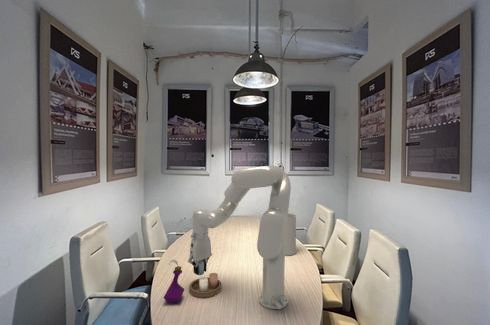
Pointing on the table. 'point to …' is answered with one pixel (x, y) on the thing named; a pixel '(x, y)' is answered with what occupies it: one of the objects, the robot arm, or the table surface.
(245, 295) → the table surface
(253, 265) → the table surface
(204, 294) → the groove tray
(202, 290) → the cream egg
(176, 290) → the perfume bottle
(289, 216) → the cylinder vase
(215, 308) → the table surface
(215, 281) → the bead terracotta
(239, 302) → the table surface
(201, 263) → the bead slate
